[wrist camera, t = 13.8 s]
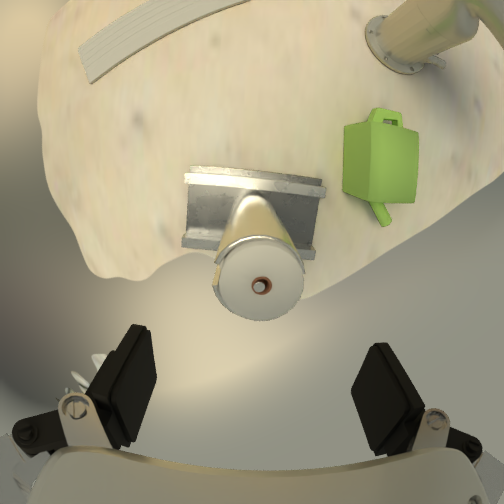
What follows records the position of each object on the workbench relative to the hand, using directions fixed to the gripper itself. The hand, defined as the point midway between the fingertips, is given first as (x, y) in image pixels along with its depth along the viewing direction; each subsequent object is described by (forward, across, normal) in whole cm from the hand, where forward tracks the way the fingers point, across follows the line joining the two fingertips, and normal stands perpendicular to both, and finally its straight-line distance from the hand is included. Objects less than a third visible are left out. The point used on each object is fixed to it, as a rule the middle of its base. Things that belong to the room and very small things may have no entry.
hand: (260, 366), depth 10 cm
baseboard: (+34, +21, -34) cm, 53 cm away
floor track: (+34, 0, 0) cm, 34 cm away
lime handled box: (+34, -18, -10) cm, 40 cm away
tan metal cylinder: (+33, 0, 0) cm, 33 cm away
